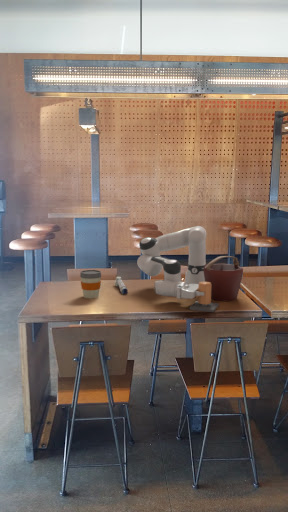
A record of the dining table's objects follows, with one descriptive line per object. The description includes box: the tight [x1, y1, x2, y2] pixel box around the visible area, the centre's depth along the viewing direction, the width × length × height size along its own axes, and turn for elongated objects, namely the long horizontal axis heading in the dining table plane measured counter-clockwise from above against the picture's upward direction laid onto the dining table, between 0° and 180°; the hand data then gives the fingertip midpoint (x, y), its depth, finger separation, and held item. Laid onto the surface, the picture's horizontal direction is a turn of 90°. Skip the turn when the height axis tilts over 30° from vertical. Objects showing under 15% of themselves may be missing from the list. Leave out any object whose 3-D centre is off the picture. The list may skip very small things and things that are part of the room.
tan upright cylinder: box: [197, 282, 212, 304], centre depth 245 cm, size 7×7×11 cm
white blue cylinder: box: [114, 276, 129, 295], centre depth 288 cm, size 5×7×25 cm
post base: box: [189, 300, 220, 313], centre depth 246 cm, size 13×13×8 cm
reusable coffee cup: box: [79, 269, 102, 299], centre depth 269 cm, size 13×13×15 cm
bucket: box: [204, 255, 244, 302], centre depth 266 cm, size 24×22×25 cm
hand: (206, 292), depth 245 cm, fingers closed on tan upright cylinder, 6 cm apart
